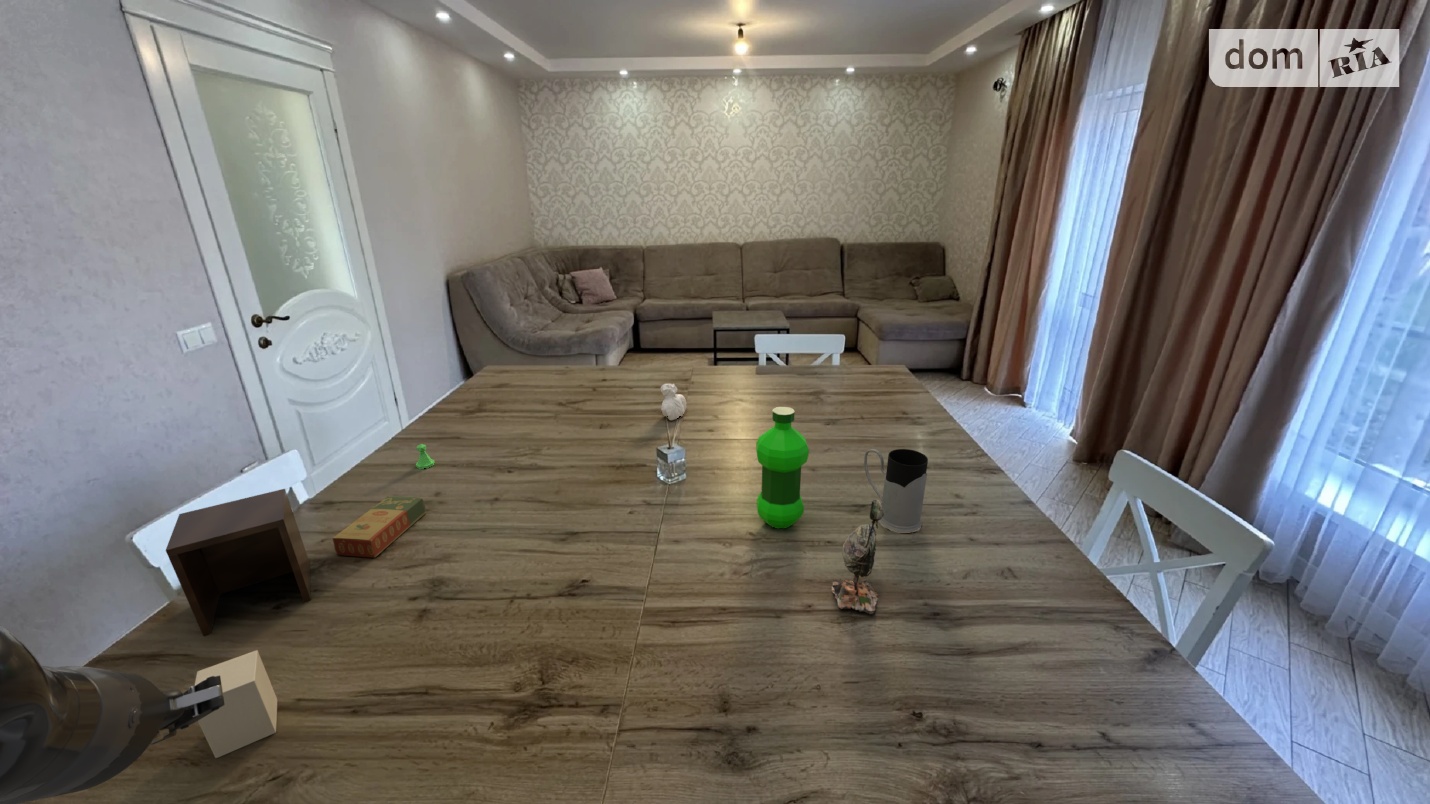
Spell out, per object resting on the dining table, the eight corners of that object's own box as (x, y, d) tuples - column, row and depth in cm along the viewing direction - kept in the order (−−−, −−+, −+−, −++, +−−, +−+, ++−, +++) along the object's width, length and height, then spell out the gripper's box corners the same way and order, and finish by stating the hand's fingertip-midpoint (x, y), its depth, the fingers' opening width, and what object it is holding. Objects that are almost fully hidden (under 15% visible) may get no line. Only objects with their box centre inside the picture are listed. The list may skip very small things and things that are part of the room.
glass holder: (906, 539, 109) (915, 471, 103) (848, 509, 119) (853, 447, 114) (930, 523, 114) (940, 458, 108) (872, 496, 124) (879, 435, 119)
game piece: (427, 469, 138) (423, 448, 136) (412, 468, 138) (407, 447, 136) (438, 462, 142) (434, 440, 140) (423, 460, 142) (418, 439, 140)
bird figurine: (883, 578, 98) (895, 479, 91) (874, 621, 88) (887, 514, 81) (837, 567, 101) (845, 470, 94) (823, 608, 91) (832, 503, 84)
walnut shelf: (203, 636, 86) (165, 550, 81) (212, 593, 96) (179, 513, 90) (310, 600, 94) (283, 519, 88) (310, 564, 103) (285, 488, 97)
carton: (336, 556, 105) (330, 537, 104) (391, 511, 120) (387, 493, 119) (376, 558, 104) (370, 539, 103) (427, 512, 119) (423, 495, 118)
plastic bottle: (799, 539, 109) (806, 423, 100) (748, 530, 112) (750, 417, 103) (808, 513, 118) (815, 404, 109) (760, 505, 121) (763, 399, 112)
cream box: (215, 758, 68) (189, 705, 64) (220, 723, 72) (197, 671, 69) (276, 732, 71) (254, 680, 68) (277, 700, 75) (257, 649, 72)
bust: (681, 415, 175) (661, 386, 175) (698, 404, 171) (677, 374, 171) (663, 429, 165) (642, 398, 165) (680, 418, 161) (658, 386, 161)
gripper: (186, 631, 41) (250, 652, 55) (-101, 725, 34) (55, 722, 48) (201, 736, 39) (263, 731, 52) (-103, 860, 32) (62, 816, 45)
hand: (164, 727), depth 50 cm, fingers closed
